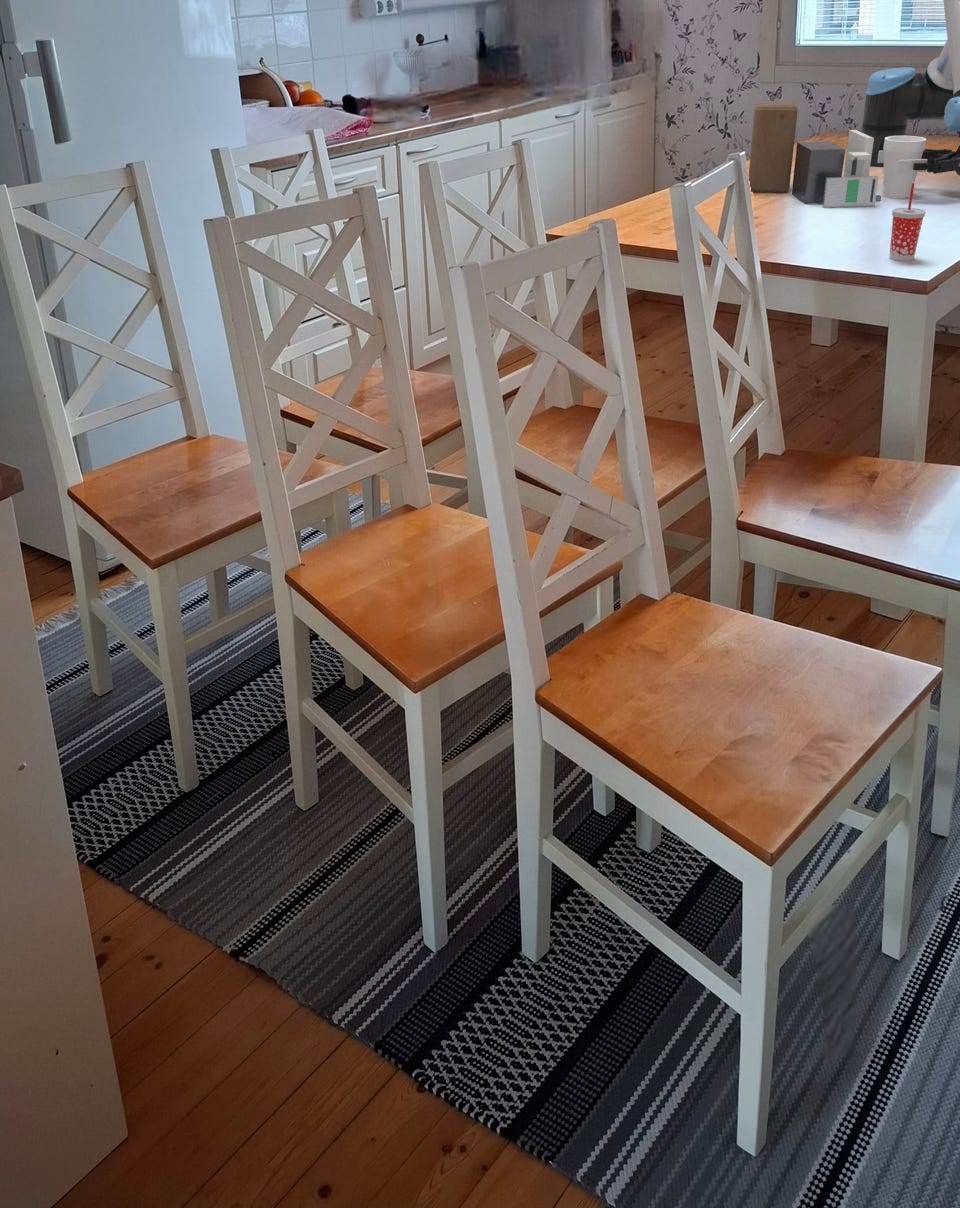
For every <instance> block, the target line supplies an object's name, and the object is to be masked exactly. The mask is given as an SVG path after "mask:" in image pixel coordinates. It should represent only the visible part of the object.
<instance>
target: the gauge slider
mask: <svg viewBox="0 0 960 1208" xmlns="http://www.w3.org/2000/svg"><path fill="white" fill-rule="evenodd" d="M873 142H874V138H873V137H870V136H868V135H866V134H864V133H861V131H859V130H857V129H850V130H849V131H848V140H847V146H846V147H847V148H846V153H845V155H846V156H845V161H844V162H845V163H844V169H843V177H861V176H870V170H871V165H870V163H871V156H872V149H873Z"/></svg>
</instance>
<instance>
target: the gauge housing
mask: <svg viewBox="0 0 960 1208" xmlns="http://www.w3.org/2000/svg"><path fill="white" fill-rule="evenodd" d="M845 155H846V148H844V147H842V146H840V145H838V144H837V143H834V142H832V141H828V140H827V141H799V142H796V150H795V158H794V159H795V160H794V168H793V180H792V186H791V195H792V196H793V197H795V198H796V199H797V200H799V201H800V202H802V203H803V204H805V205H807V204H808V205H810V204H811V205H812V204H814V205H815V204H817V205H818V204H822V205H821V206H822V208H824V209H825V208H854V207H856V208H857V207H860V208H861V207H875V206H876V202H877V201H881V200H882V195H880V194H878V195H877V192H878V191H877V190H878V186H879V179H880V178H879V176H877V175H869V176H861V177H844V176H843V173H844V165H845V163H844V162H845V157H846V156H845Z"/></svg>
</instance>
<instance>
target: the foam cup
mask: <svg viewBox="0 0 960 1208" xmlns="http://www.w3.org/2000/svg"><path fill="white" fill-rule="evenodd" d="M926 143H927V138H926V137H922V136H916V135H915V136H914V135H906V136H889V137H885V140H884V147H883V149H884V166H883V180H882V181H883V183H882V184H883V190H882V192H883V198H887V199H895V200H896V199H898V200H899V199H901V200H903V199H910V193H911V186H912V183H914V184H915V182H916V178H917V175H918V172H907V173H898V172H897V168H898V162H899V160H915V159H921V158H922V154H923V151H924V150H925V149H926Z"/></svg>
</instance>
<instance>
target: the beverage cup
mask: <svg viewBox="0 0 960 1208" xmlns="http://www.w3.org/2000/svg"><path fill="white" fill-rule="evenodd" d="M914 189H915V183H912V186H911V193H910V197H909V198H908V199H909V201H908V206H907V207H897V208H893V209H892V211H891V212H892V213H891V215H892V224H891V225H892V226H891V235H890V247H889V256H888V257H889V259H890V260H893V261H897V262H899V261H900V262H909V261H914V260H915V256H916V251H917V247H918V242H919V238H920V235H921V234H920V233H921V231H922V230H921V229H922V224H923V220H924V217H925V216H926V209H925V210H924V209H921V208H915V207H912V203H913V202H912V201H913V196H914Z"/></svg>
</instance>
